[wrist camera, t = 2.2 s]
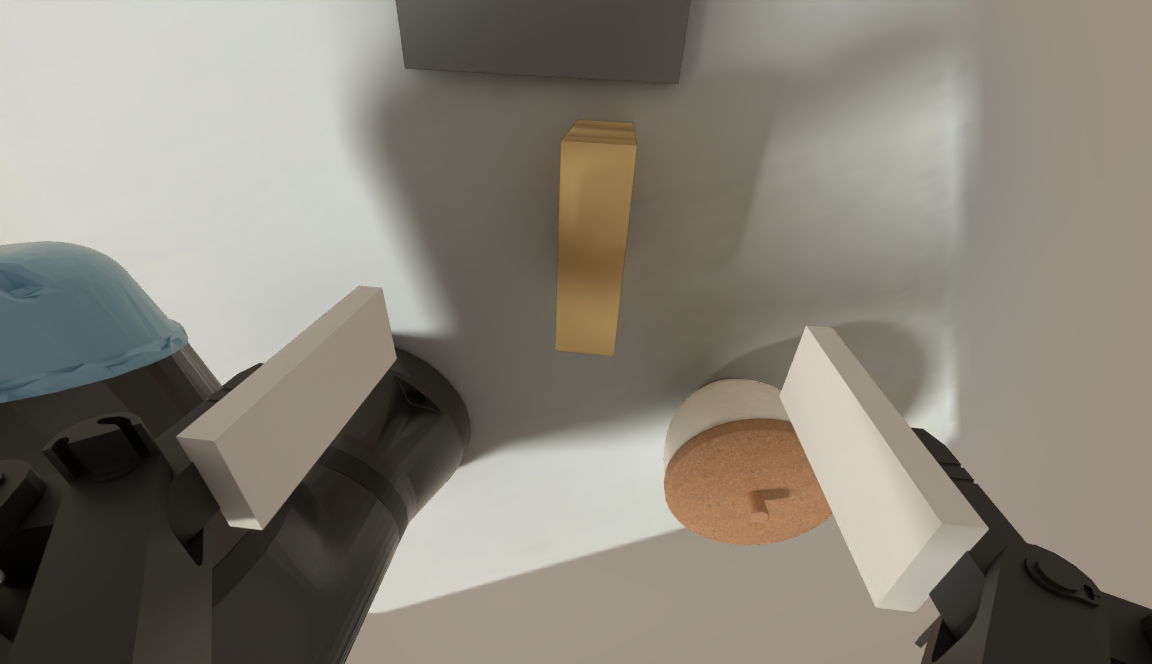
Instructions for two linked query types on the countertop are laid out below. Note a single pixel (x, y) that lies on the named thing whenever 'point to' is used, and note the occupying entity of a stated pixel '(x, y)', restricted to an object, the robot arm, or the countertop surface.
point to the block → (593, 233)
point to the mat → (547, 37)
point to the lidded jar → (740, 467)
